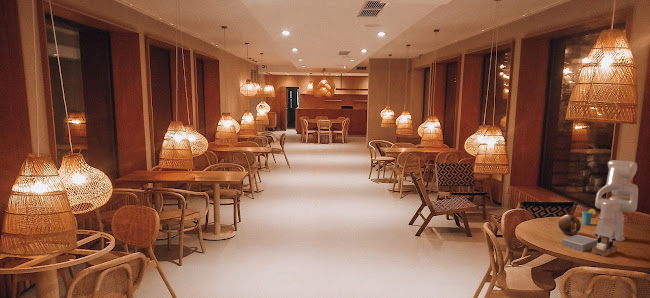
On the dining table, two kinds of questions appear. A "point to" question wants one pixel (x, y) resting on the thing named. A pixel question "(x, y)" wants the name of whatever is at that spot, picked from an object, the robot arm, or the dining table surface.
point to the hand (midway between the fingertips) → (604, 245)
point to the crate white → (601, 246)
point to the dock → (579, 242)
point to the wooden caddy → (608, 251)
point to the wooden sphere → (569, 224)
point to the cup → (587, 215)
